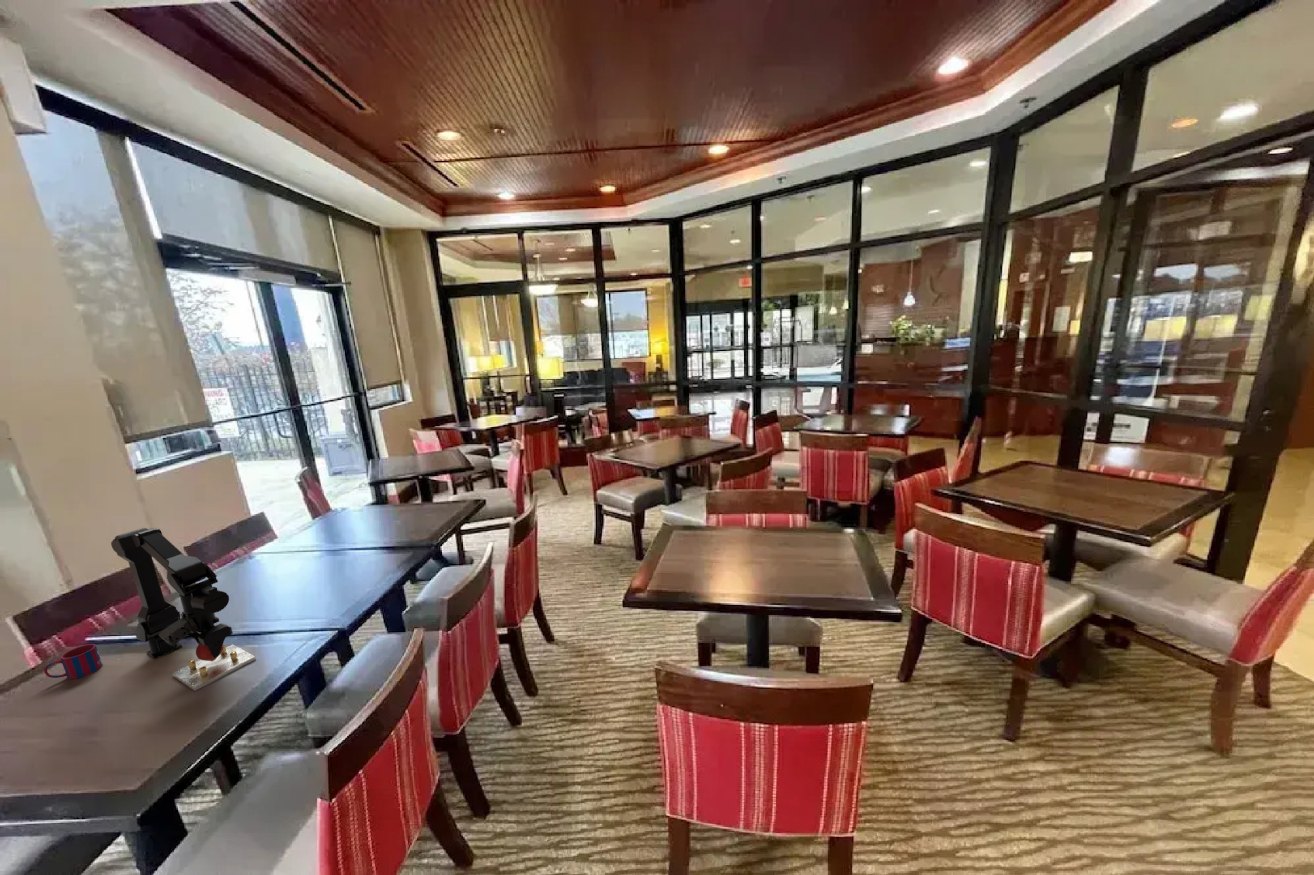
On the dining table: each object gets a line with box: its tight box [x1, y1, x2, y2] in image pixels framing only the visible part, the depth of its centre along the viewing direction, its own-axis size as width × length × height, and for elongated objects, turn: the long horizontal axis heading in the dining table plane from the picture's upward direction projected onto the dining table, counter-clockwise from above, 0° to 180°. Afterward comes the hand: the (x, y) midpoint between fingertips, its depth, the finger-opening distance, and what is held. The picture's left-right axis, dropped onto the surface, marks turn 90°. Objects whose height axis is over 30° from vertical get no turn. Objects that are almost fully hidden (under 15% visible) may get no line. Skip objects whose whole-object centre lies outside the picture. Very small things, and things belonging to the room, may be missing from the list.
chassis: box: [172, 644, 257, 692], centre depth 138 cm, size 14×14×4 cm
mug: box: [43, 643, 103, 680], centre depth 138 cm, size 7×10×7 cm
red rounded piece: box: [195, 644, 224, 661], centre depth 137 cm, size 6×6×8 cm
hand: (211, 654), depth 138 cm, fingers closed on red rounded piece, 6 cm apart
